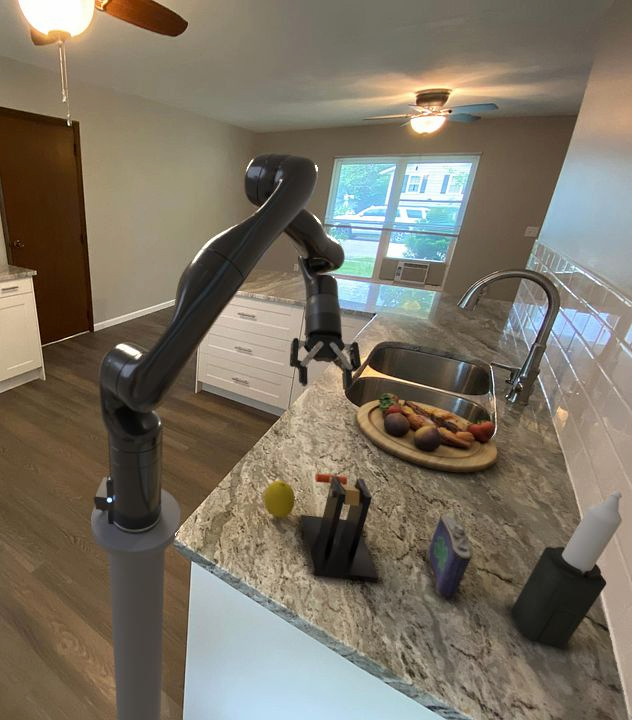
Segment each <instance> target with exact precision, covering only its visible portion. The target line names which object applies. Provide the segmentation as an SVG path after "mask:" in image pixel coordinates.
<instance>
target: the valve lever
mask: <svg viewBox="0 0 632 720" xmlns="http://www.w3.org/2000/svg"><path fill="white" fill-rule="evenodd" d="M332 476H336V477H338V478H339V480H340V483H341V485H342V488H343V490H344V493H345V499H344V503H343V505H347V506H350V505H355V506H359V493H360V491H359V490H358V489H356V488H355V485H347V483H348V479H347V476H345V475H336V474H325V473H315V475H314V479H315V482H316V483H323V484H329V485H330V484H331V480H332Z"/></svg>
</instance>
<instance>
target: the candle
mask: <svg viewBox="0 0 632 720" xmlns="http://www.w3.org/2000/svg"><path fill="white" fill-rule="evenodd" d="M622 497H623V496H622V494H621V492H619V491H612V492H611V495H610V496H608V497H607V498H606V499H604V500H603V501H601V502H599V503H595V504H592V505H590V506H588V508H587V509H586V511H585V513H584V514H583V517H581V520H580V521H579V524H578V525H577V527H576V529H575V530H574V532H573V534H572V536H570V539H569V541H568V542H567V544H566V546H565V547H564V546H557V547H552V546H547V547H545V548H544V549H543V551H542V553H541V555H540V556H539V559H537V562H536V564H535V566H534V567H533V570H532V571H531V573H530V574H529V576H528V578H527V580H526V581H525V584H524V586H523V588H522V589H521V591H520V593H519V594H518V597H517V598H516V600H515V602H514V604H513V605H512V608H511V614H512V615H513V618H514V620H515V622H516V624H517V626H518V628H519V630H520V632H521V633H522V634H523V636H524V637H525V638H527V639H529V640H530V641H533V642H539V643H543V644H545V645H549V646H553V647H555V648H557V649H565V647H566V646H567V645H568V643H569V642H570V640H571V638H572V637H573V635H574V634H575V632H576V631H577V629H578V628H579V626H580V625H581V623H582V621H583V620H584V619H585V617H586V616H587V614H588V613H589V611H590V609H592V606H593V605H594V604H595V602H596V601H597V600H598V598H599V597H600V595H601V593H602V592H603V590H604V589H605V587H606V586H607V580H606V579H605V577H603V575H602V570H601V567H599V565H598V564H597V562H598V560H599V559H600V557H601V555H602V554H603V553H604V551H605V549H606V548H607V546H608V545H609V543H610V542H611V540H612V538H613V536H614V535H615V534H616V532H617V531H618V529H619V527H620V525H621V524H622V522H623V519H622V517H621V514H620V512H619V511H620V510H619V507H620V506H619V505H620V499H622Z"/></svg>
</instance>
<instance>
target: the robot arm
mask: <svg viewBox="0 0 632 720" xmlns="http://www.w3.org/2000/svg"><path fill="white" fill-rule="evenodd" d="M318 172H319V171H318V167H317V164H316V162H315V161H314V160H313V159H311V158H310V157H307V156H306V155H305V156H304V155H300V154H290V153H280V152H262V153H260V154H257V155H255V157H253V159H252V160H251V161H250V162H249V163H248V165H247V168H246V171H245V174H244V178H243V190H244V194H245V197H246V198H247V201H248V202H249V203H250V204H251V206H253V207H254V208H255V209H256V211H255V212H254V213H252V214H251V215H250V216H248V217H247V218H245V219H243V220H242V221H240V222H237V223H236V224H233V225H232V226H229V227H228V228H226V229H225V230H223V231H220V232H219V233H218V234H216V235H214V236H213V237H212V238H210V239H209V240H207V241H206V242H205V243H204V244H203V245H202V246H201V247H200V248H199V250H198V251H197V253H196V254H195V255H194V257H192V259H191V260H190V261H189V262H188V264H187V265H186V267H185V269H184V270H183V272H182V273H181V275H180V277H179V280H178V284H177V286H176V287H177V288H176V293H175V298H174V306H173V311H172V314H171V318H170V321H169V323H168V325H167V326H166V328H165V330H164V331H163V332H162V334H161V335H160V336H159V338H158V340H157V341H156V342H155V344H154V345H152V347H150V349H146V348H145V347H142V346H141V345H139V344H136V343H134V342H130V341H129V342H128V341H126V342H125V341H123V342H120V343H116V344H115V345H113V346H111V348H109V350H107V352H106V353H105V354H104V356H103V358H102V359H101V361H100V365H99V370H98V391H99V402H100V410H101V411H100V412H101V418H102V422H103V425H104V428H105V430H106V433H107V447H108V449H107V450H108V470H109V474H108V476H107V477H105V476H104V477H103V478H102V480H101V481H100V485H99V487H98V489H97V491H96V494H94V497H93V502H94V505H96V509H97V510H101V511H102V512H103V511H105V510H106V511H108V524H113V525H114V526H115V527H116V528H117V529H119V530H120V531H122V532H125V533H129V534H140V533H144V532H147V531H149V530H151V529H153V528H154V527H155V526H156V525H157V524H158V523H159V521H160V519H161V515H162V509H161V491H162V489H163V488H162V487H163V482H162V481H163V435H164V434H163V432H164V430H163V429H164V427H163V422H162V419H161V418H160V416H159V414H158V413H157V411H156V410H157V409H158V408H160V407H161V406H162V405H163V404H164V403H165V402H166V401H167V400H168V398H169V397H170V396H171V395H172V393H173V391H174V389H175V388H176V387H177V385H178V383H179V382H180V379H182V376H183V374H184V373H185V371H186V369H187V368H188V366H189V364H190V363H191V361H192V359H193V358H194V355H195V354H196V352H197V350H198V349H199V347H200V346H201V344H202V342H203V341H204V340H205V338H206V337H207V335H208V334H209V332H210V331H211V329H212V328H213V327H214V325H215V323H216V322H217V320H218V319H219V317H220V316H221V315H222V313H223V312H224V311H225V309H226V308H227V307H228V306H229V305H230V303H231V302H232V301H233V300H234V298H235V297H236V295H237V294H238V293H239V291H240V290H241V289H242V287H243V285H244V284H245V282H247V279H248V278H249V276H250V274H251V273H252V272H253V271H254V269H255V268H256V266H257V265H258V264H259V262H260V261H261V260H262V258H263V257H264V255H265V254H266V253H267V252H268V250H269V249H270V248H271V246H272V245H273V244H274V243H275V242H276V240H278V239H279V237H280V236H281V235H282V234H284V236H285V237H286V238H287V239H288V241H289V243H290V244H291V246H292V247H293V249H294V250H295V252H296V253H297V259H296V262H297V266H298V269H299V272H300V274H301V277H302V280H303V282H304V287H305V288H304V289H305V309H304V321H305V323H304V325H305V329H304V330H305V340H299V338H298V337H293V339H292V341H291V343H290V353H289V366H290V367H292V368H296V369H297V370H298V383H299V384H301V387H307V385H308V381H309V378H308V367H307V366H308V365H309V364H310V363H311V361H312V360H314V361H315V362H318V363H319V362H325V363H333V364H334V365H335V366H336V367H338V368H339V370H341V371H342V373H341V378H342V379H341V381H342V390H344V391H345V390H346V391H348V390H349V389H350V387H352V385H353V372H357V371H358V370H359V369H360V368H361V367H362V361H361V353H360V349H359V348H360V347H359V343H358V341H353V342H352V343H344V341H343V330H342V318H341V317H342V313H341V306H340V305H341V304H340V301H339V300H340V299H339V287H338V281H337V279H336V278H335V277H334V276H333V275H331V274H327V273H331V272H336V271H338V270H339V269H341V267H342V266H343V265H344V262H345V255H346V254H345V250H344V248H343V246H342V245H341V244H340V242H339V241H338V240H337V239H336V238H334V237H333V236H331V235H329V234H328V233H327V232H326V231H325V228H324V226H323V225H322V223H321V221H320V220H319V219H318V218H317V217H316V216H315V215H314V213H312V212H311V211H310V210H308V209H307V208H306V206H307V204H308V202H309V201H310V199H311V197H312V195H313V193H314V191H315V188H316V185H317V182H318V176H319V173H318ZM302 347H303V348H304V350H305V351H306V352H307V355H306V356H305V357H304V358H303V359H302V360H299V351H300V350H301V349H302ZM344 350H345V352H346V354H347V355H349V360H347V356H346V355H345V354H344V353H343V351H344ZM349 361H350V362H349Z"/></svg>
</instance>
